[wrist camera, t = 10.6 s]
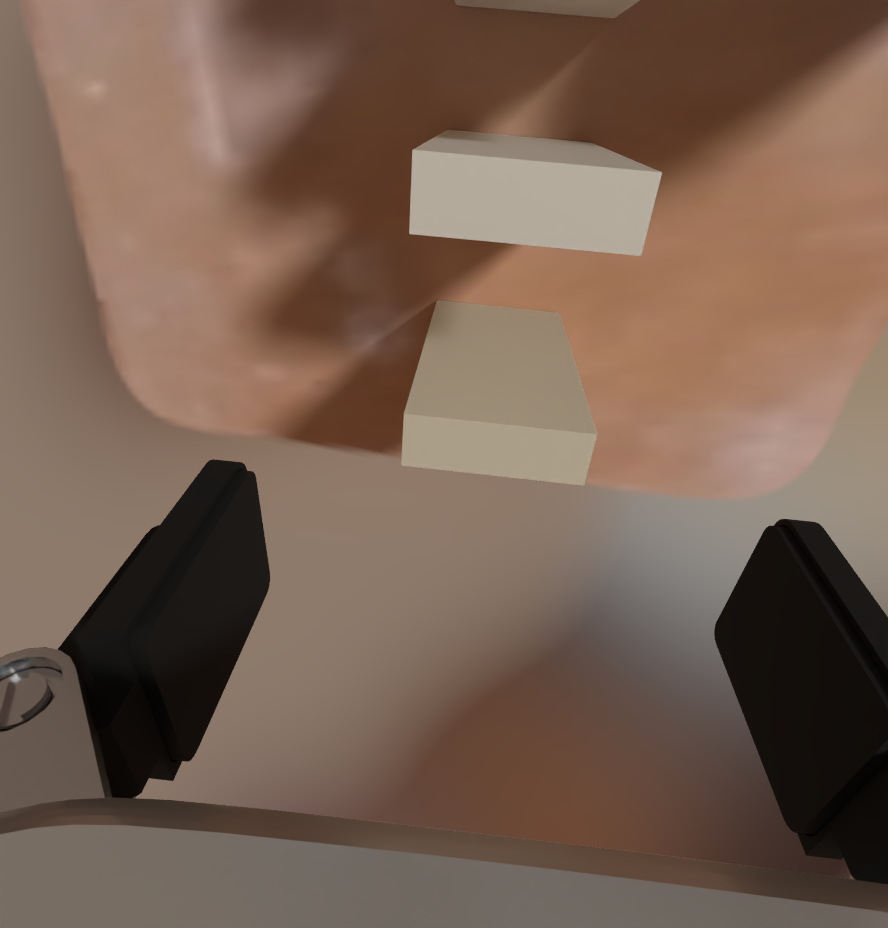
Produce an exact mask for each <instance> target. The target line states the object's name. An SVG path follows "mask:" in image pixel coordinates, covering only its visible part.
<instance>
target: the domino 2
mask: <svg viewBox="0 0 888 928" xmlns="http://www.w3.org/2000/svg"><path fill="white" fill-rule="evenodd" d="M596 438H597V432H596V428H595V425H594V422H593V419H592V415H591V412H590V409H589V406H588V403H587V399H586V396H585V393H584V390H583V386H582V383H581V380H580V377H579V373H578V370H577V367H576V364H575V361H574V357H573V354H572V351H571V348H570V344H569V341H568V338H567V335H566V332H565V328H564V325H563V322H562V319H561V315H560V313H558V312H548V311H538V310H529V309H519V308H509V307H500V306H490V305H481V304H471V303H461V302H452V301H442V300H437V301H436V305H435V308H434V312H433V315H432V319H431V322H430V325H429V329H428V332H427V336H426V339H425V343H424V346H423V350H422V353H421V356H420V360H419V363H418V367H417V370H416V374H415V377H414V380H413V384H412V387H411V391H410V394H409V398H408V401H407V404H406V408H405V411H404V421H403V441H402V462H401V465H402V466H411V467H412V466H413V467H420V468H429V469H439V470H448V471H457V472H466V473H475V474H484V475H493V476H502V477H503V476H504V477H512V478H521V479H531V480H539V481H548V482H557V483H566V484H575V485H584V484H585V480H586V476H587V472H588V468H589V465H590V461H591V457H592V453H593V449H594V446H595V442H596Z"/></svg>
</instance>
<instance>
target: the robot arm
mask: <svg viewBox="0 0 888 928" xmlns="http://www.w3.org/2000/svg"><path fill="white" fill-rule="evenodd" d="M269 583H270V571H269V564H268V557H267V550H266V544H265V537H264V530H263V523H262V517H261V509H260V503H259V495H258V489H257V482H256V477H255V474H254V472H252V471H247V469H246V466H245V465H244V464H243V463H241V462H232V461H223V460H210V461H208V462H207V463H206V465H205V466H204V467H203V469H202V470H201V472H200V473H199V474H198V475H197V477H196V478H195V479H194V481H193V482H192V483H191V485H190V486H189V488H188V489H187V490H186V491H185V493H184V494H183V495H182V497H181V498H180V499H179V501H178V502H177V503H176V505H175V506H174V507H173V509H172V510H171V511H170V513H169V514H168V515H167V517H166V518H165V519H164V521H163V522H162V523H161V525H158V526H156V527H154V528H152V529H151V530H150V531H149V532H148V533H147V534H146V535H145V536H144V538H143V539H142V540H141V542H140V543H139V544H138V546H137V547H136V548H135V549H134V551H133V552H132V553H131V555H130V556H129V557H128V558H127V560H126V561H125V562H124V564H123V565H122V566H121V568H120V569H119V570H118V571H117V573H116V574H115V575H114V577H113V578H112V580H111V581H110V582H109V583H108V585H107V586H106V587H105V589H104V590H103V591H102V593H101V594H100V595H99V596H98V598H97V599H96V600H95V602H94V603H93V604H92V605H91V607H90V608H89V609H88V611H87V612H86V613H85V615H84V616H83V617H82V618H81V620H80V621H79V623H78V624H77V625H76V626H75V628H74V629H73V631H71V633H70V634H69V636H68V637H67V638H66V639H65V641H64V642H63V643H62V645H61V646H60V647H59V648H58V650H55V649H51V648H46V647H43V648H30V649H25V650H21V651H18V652H14V653H10V654H8V655H5V656H4V657H1V658H0V928H888V617H887V616H886V614H885V613H884V611H883V610H882V609H881V607H880V606H879V605H878V603H877V602H876V600H875V599H874V598H873V596H872V595H871V593H870V592H869V591H868V589H867V588H866V586H865V585H864V584H863V582H862V581H861V579H860V578H859V577H858V575H857V574H856V573H855V571H854V570H853V568H852V567H851V566H850V564H849V563H848V561H847V560H846V559H845V557H844V556H843V555H842V553H841V552H840V550H839V549H838V548H837V546H836V545H835V543H834V542H833V541H832V539H831V538H830V537H829V535H828V534H827V533H826V531H825V530H824V528H823V527H822V526H821V525H820V524H818V523H816V522H809V521H799V520H790V519H781V520H779V521H778V522H776V524H775V525H774V526H768V527H767V528H766V529H765V530H764V532H763V534H762V536H761V538H760V540H759V542H758V543H757V546H756V547H755V549H754V551H753V553H752V555H751V557H750V559H749V561H748V563H747V565H746V567H745V568H744V570H743V572H742V574H741V576H740V578H739V580H738V582H737V584H736V586H735V588H734V590H733V592H732V593H731V595H730V597H729V599H728V601H727V603H726V605H725V607H724V609H723V611H722V613H721V615H720V616H719V618H718V620H717V622H716V625H715V641H716V644H717V647H718V649H719V652H720V655H721V657H722V660H723V662H724V665H725V668H726V670H727V673H728V675H729V678H730V681H731V683H732V686H733V688H734V691H735V694H736V696H737V699H738V701H739V704H740V707H741V709H742V712H743V714H744V717H745V719H746V722H747V725H748V727H749V730H750V733H751V735H752V738H753V740H754V743H755V745H756V748H757V750H758V753H759V756H760V758H761V761H762V764H763V766H764V769H765V771H766V774H767V776H768V779H769V782H770V784H771V787H772V789H773V792H774V795H775V797H776V800H777V802H778V805H779V807H780V810H781V813H782V815H783V818H784V820H785V822H786V824H787V826H788V827H789V828H790V829H791V830H792V831H793V832H796V833H797V834H798V836H799V838H800V841H801V844H802V846H803V848H804V851H805V854H806V855H807V856H815V857H824V858H833V859H842V858H843V857H844V859H845V861H846V864H847V866H848V868H849V871H850V873H851V877H850V879H845V878H838V877H831V876H824V875H817V874H810V873H802V872H794V871H785V870H778V869H769V868H761V867H753V866H745V865H737V864H729V863H721V862H713V861H705V860H697V859H688V858H681V857H672V856H664V855H656V854H648V853H640V852H632V851H623V850H614V849H606V848H598V847H590V846H581V845H573V844H563V843H556V842H548V841H539V840H530V839H522V838H514V837H505V836H496V835H488V834H480V833H471V832H463V831H454V830H446V829H437V828H427V827H420V826H410V825H401V824H392V823H384V822H375V821H366V820H358V819H349V818H340V817H331V816H322V815H314V814H304V813H295V812H287V811H278V810H269V809H258V808H248V807H237V806H226V805H216V804H205V803H194V802H184V801H173V800H155V799H136V796H137V795H139V794H140V793H142V791H143V789H144V787H145V785H146V782H147V780H148V779H149V778H153V779H161V780H170V781H173V780H174V778H175V775H176V773H177V771H178V769H179V767H180V765H181V762H182V761H190V760H191V759H192V758H193V757H194V755H195V753H196V751H197V749H198V747H199V745H200V743H201V740H202V738H203V736H204V734H205V731H206V729H207V727H208V725H209V722H210V720H211V718H212V716H213V714H214V711H215V709H216V707H217V704H218V702H219V700H220V698H221V695H222V693H223V691H224V689H225V687H226V684H227V682H228V680H229V678H230V675H231V673H232V671H233V669H234V666H235V664H236V662H237V660H238V657H239V655H240V653H241V651H242V648H243V646H244V644H245V641H246V639H247V637H248V635H249V633H250V630H251V628H252V626H253V624H254V621H255V619H256V617H257V615H258V612H259V610H260V608H261V606H262V603H263V601H264V599H265V596H266V594H267V591H268V588H269Z"/></svg>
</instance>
